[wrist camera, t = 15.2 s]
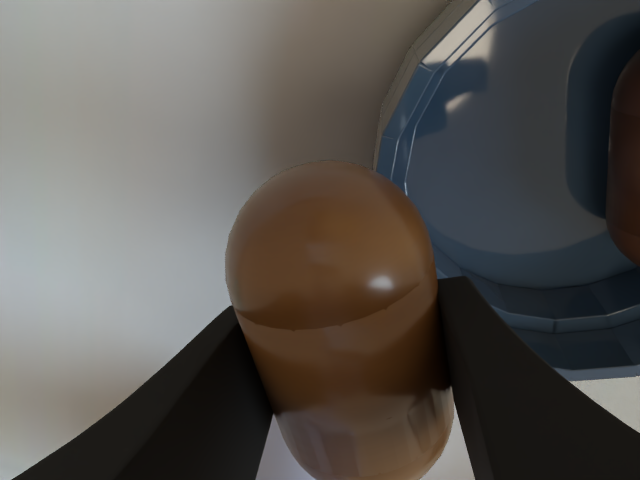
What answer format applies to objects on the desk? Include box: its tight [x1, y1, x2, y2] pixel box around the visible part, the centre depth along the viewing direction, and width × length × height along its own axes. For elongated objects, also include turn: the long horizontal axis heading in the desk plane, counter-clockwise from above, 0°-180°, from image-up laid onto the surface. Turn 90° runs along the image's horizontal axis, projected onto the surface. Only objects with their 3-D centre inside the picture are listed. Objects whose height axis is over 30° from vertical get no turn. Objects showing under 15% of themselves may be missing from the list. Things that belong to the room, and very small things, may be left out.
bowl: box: [373, 0, 640, 381], centre depth 15 cm, size 13×13×4 cm
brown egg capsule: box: [225, 160, 454, 480], centre depth 10 cm, size 8×4×4 cm, turn 13°
